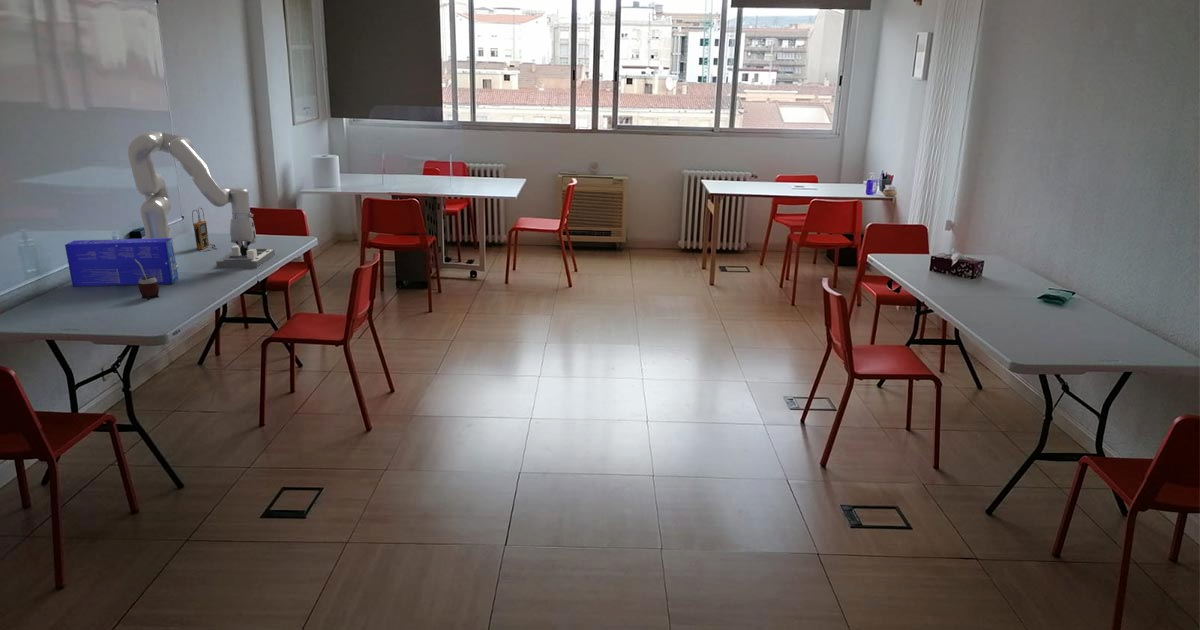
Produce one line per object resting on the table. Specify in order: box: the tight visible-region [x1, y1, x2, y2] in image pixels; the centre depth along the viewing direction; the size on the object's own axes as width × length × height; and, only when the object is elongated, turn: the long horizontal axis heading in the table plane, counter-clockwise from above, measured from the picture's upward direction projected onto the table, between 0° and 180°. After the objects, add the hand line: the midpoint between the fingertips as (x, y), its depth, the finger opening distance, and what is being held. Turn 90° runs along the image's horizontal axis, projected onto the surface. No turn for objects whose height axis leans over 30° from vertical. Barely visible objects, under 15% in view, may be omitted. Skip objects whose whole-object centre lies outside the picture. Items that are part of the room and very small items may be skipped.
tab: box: [247, 248, 257, 260], centre depth 372 cm, size 4×3×4 cm
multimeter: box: [191, 207, 218, 252], centre depth 401 cm, size 15×10×20 cm
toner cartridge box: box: [64, 237, 179, 288], centre depth 339 cm, size 39×8×18 cm, turn 100°
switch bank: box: [215, 248, 276, 269], centre depth 380 cm, size 24×18×4 cm
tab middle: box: [230, 244, 241, 255], centre depth 379 cm, size 4×3×4 cm
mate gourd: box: [135, 259, 160, 301], centre depth 321 cm, size 8×8×15 cm
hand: (244, 255), depth 372 cm, fingers closed
